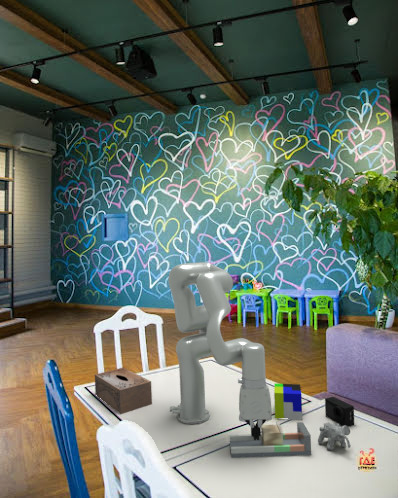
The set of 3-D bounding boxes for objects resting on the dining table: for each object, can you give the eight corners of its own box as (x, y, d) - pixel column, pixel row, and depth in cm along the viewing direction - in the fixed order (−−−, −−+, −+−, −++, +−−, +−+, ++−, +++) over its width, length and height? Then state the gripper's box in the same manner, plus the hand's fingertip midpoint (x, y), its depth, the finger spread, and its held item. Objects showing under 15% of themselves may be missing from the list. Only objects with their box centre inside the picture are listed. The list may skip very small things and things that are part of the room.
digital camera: (322, 417, 148) (322, 398, 148) (333, 414, 150) (333, 396, 150) (342, 428, 138) (342, 409, 138) (354, 425, 140) (353, 406, 140)
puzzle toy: (302, 420, 146) (301, 394, 145) (275, 419, 148) (274, 392, 147) (300, 409, 155) (300, 384, 155) (275, 408, 157) (274, 383, 157)
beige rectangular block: (265, 451, 122) (264, 433, 122) (260, 437, 131) (260, 421, 131) (284, 450, 122) (283, 433, 122) (278, 437, 131) (278, 420, 131)
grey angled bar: (304, 451, 122) (304, 435, 122) (297, 437, 131) (297, 422, 131) (311, 451, 122) (310, 435, 122) (303, 436, 131) (303, 422, 131)
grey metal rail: (231, 457, 122) (231, 448, 122) (229, 442, 131) (229, 434, 131) (311, 454, 122) (310, 446, 122) (303, 440, 131) (303, 432, 131)
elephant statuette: (330, 437, 133) (328, 415, 133) (363, 449, 123) (361, 425, 124) (313, 447, 127) (311, 423, 127) (347, 460, 118) (345, 435, 118)
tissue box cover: (95, 396, 177) (94, 374, 177) (124, 388, 186) (123, 367, 186) (121, 414, 157) (120, 390, 156) (152, 404, 165) (151, 381, 165)
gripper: (231, 387, 122) (234, 445, 123) (279, 385, 122) (281, 443, 123) (230, 378, 130) (232, 433, 130) (274, 377, 130) (276, 431, 130)
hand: (256, 438), depth 126 cm, fingers closed
